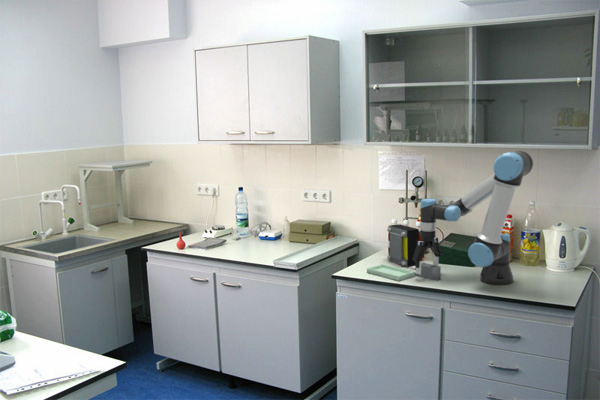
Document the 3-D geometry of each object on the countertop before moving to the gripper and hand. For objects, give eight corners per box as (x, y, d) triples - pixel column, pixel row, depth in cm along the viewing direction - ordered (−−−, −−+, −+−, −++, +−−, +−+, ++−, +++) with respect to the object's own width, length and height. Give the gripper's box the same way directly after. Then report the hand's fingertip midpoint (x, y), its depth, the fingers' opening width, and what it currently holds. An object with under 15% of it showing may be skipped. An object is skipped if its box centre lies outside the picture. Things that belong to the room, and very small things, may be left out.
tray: (415, 276, 283) (415, 271, 283) (399, 281, 276) (399, 276, 276) (382, 268, 300) (382, 264, 300) (366, 272, 293) (366, 268, 293)
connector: (442, 278, 278) (442, 266, 277) (436, 280, 275) (436, 268, 274) (415, 272, 291) (415, 260, 290) (409, 274, 288) (409, 262, 287)
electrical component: (386, 260, 316) (385, 225, 313) (401, 258, 320) (400, 223, 317) (404, 267, 300) (404, 231, 297) (420, 265, 304) (419, 228, 302)
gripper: (437, 225, 289) (436, 265, 292) (405, 232, 274) (404, 274, 277) (449, 227, 283) (448, 268, 287) (417, 234, 268) (416, 277, 271)
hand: (427, 271), depth 282 cm, fingers open, 13 cm apart
